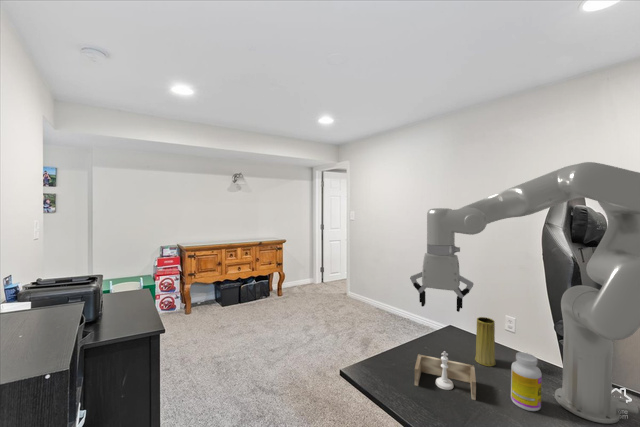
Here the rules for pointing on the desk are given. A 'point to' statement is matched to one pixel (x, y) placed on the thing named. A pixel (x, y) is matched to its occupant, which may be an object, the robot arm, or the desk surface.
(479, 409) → the desk surface
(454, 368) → the open-side wooden frame
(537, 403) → the supplement bottle
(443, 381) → the chess piece
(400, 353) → the desk surface
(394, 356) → the desk surface
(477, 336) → the vase
